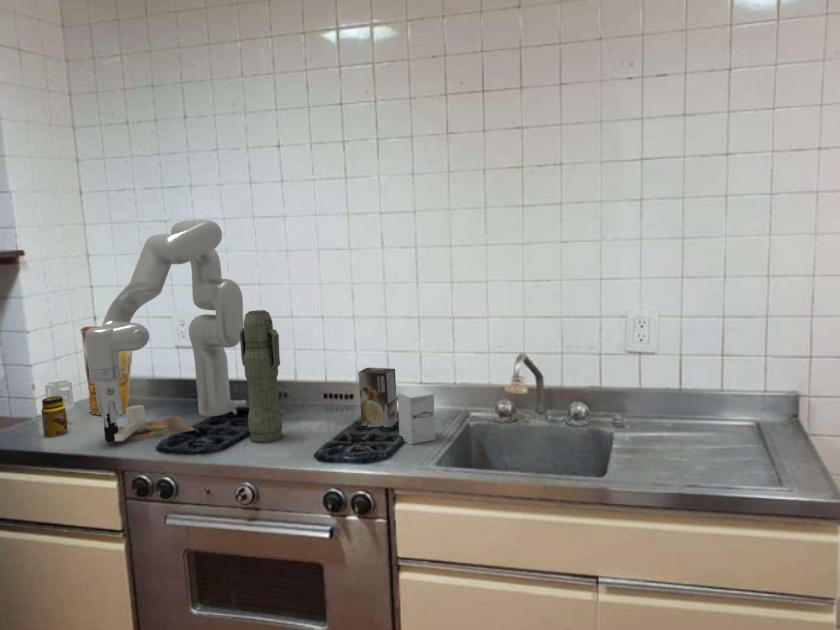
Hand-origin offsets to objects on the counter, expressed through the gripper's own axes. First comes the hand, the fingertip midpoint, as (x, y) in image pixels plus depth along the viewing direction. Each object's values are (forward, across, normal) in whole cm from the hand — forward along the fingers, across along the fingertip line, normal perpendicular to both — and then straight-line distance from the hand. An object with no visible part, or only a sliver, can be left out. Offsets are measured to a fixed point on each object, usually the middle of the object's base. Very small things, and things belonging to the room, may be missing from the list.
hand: (112, 440), depth 190 cm
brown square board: (+2, +7, -11) cm, 13 cm away
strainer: (+3, +33, +8) cm, 34 cm away
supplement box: (+3, -46, -67) cm, 82 cm away
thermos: (+3, -19, -36) cm, 41 cm away
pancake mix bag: (+3, +40, -6) cm, 41 cm away
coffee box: (+3, -28, -66) cm, 72 cm away
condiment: (+3, +21, +12) cm, 24 cm away
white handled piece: (0, +2, -7) cm, 8 cm away
